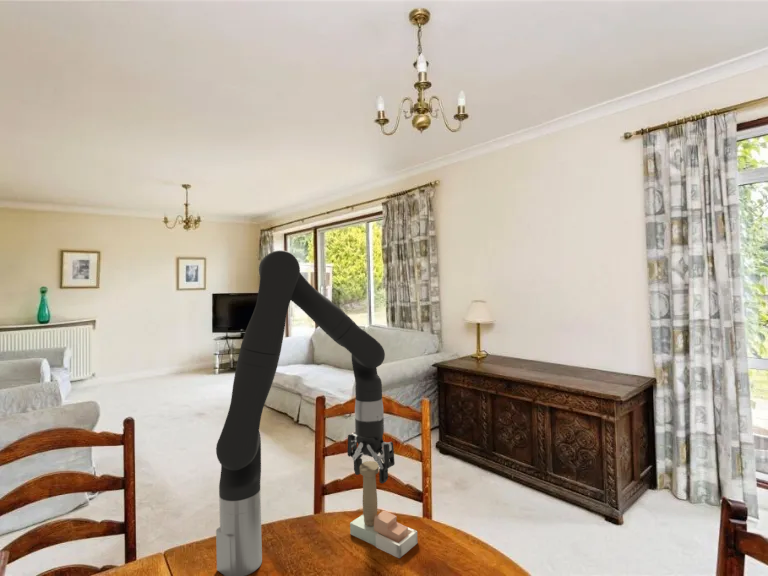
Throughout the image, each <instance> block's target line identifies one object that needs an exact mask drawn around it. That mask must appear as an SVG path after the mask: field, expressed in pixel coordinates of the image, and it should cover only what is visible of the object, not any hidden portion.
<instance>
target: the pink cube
mask: <svg viewBox="0 0 768 576" xmlns="http://www.w3.org/2000/svg"><path fill="white" fill-rule="evenodd" d="M396 522H397V515H395V514H394V513H391V512H390V511H387V510H385V509H383V510H381V512H380V513H377V516H375V521H374V531H376V532H378V533H380V534H382V535H384V536H386V537H387V529H388V528H389V527H391V526H392V525H393V524H394V523H396Z"/></svg>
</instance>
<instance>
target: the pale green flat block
mask: <svg viewBox="0 0 768 576" xmlns="http://www.w3.org/2000/svg"><path fill="white" fill-rule="evenodd" d="M349 529H350V531H349V533H350V534H349V535H351V536H353V537H355V538H358V539H359V540H361V541H364V542H366V543H368V544H370V545H372V546H374V547H376V536H375V535H376V534H380V533H378V532H376V531H374V525H373V526H366V524H365V523H364V515H363V514H361V515H360V516H359V517H357V518H355V519H354V520H352V521H351V522H350V523H349ZM380 535H382V534H380ZM382 536H384V535H382ZM384 537H386V536H384Z"/></svg>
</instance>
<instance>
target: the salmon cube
mask: <svg viewBox="0 0 768 576" xmlns="http://www.w3.org/2000/svg"><path fill="white" fill-rule="evenodd" d="M408 528H409V527H408V526H406V525H403V524H402V523H400V522H398V521H396V523H394V524H393V525H392V526H391V527H389V528H388V529H387V538H389V539H391V540H393V541H395V542H397V543H399V542H400V541H402V540H403V539H404V538H405V537H407V533H408Z"/></svg>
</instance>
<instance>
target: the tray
mask: <svg viewBox="0 0 768 576" xmlns="http://www.w3.org/2000/svg"><path fill="white" fill-rule="evenodd" d="M375 536H376V546H375V548H377V549H378V550H381V551H383V552H385V553H387V554H388V555H392V556H393V557H395V558H397V559H401V558H402V557H403V556H405V554H407V553H408V552H409V551H410V550H411V549H412V548H414V547H415V546H416V545H417V544H418V531H417V530H416V529H413V528H412V527H408V533H407V537H405V538H404V539H403V540H402V541H400V542H399V543H397V542H395V541H393V540H391V539H389V538H387V537H384V536H382V535H380V534H376V535H375Z"/></svg>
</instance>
